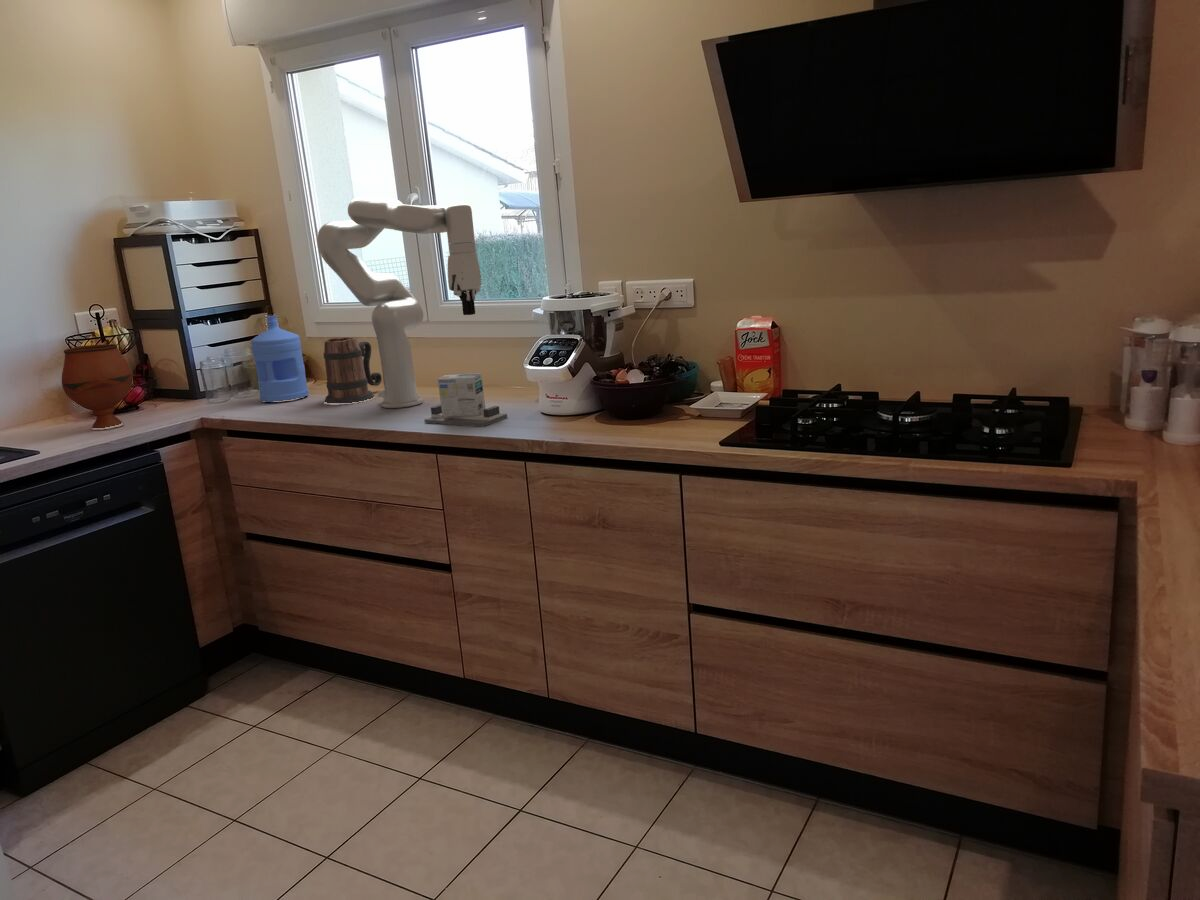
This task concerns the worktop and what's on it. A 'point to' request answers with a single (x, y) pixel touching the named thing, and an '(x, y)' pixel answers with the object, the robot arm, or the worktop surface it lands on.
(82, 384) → the goblet
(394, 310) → the robot arm
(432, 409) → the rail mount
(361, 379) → the tankard
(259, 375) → the water jug
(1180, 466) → the worktop surface
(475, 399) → the light bulb box
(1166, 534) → the worktop surface
